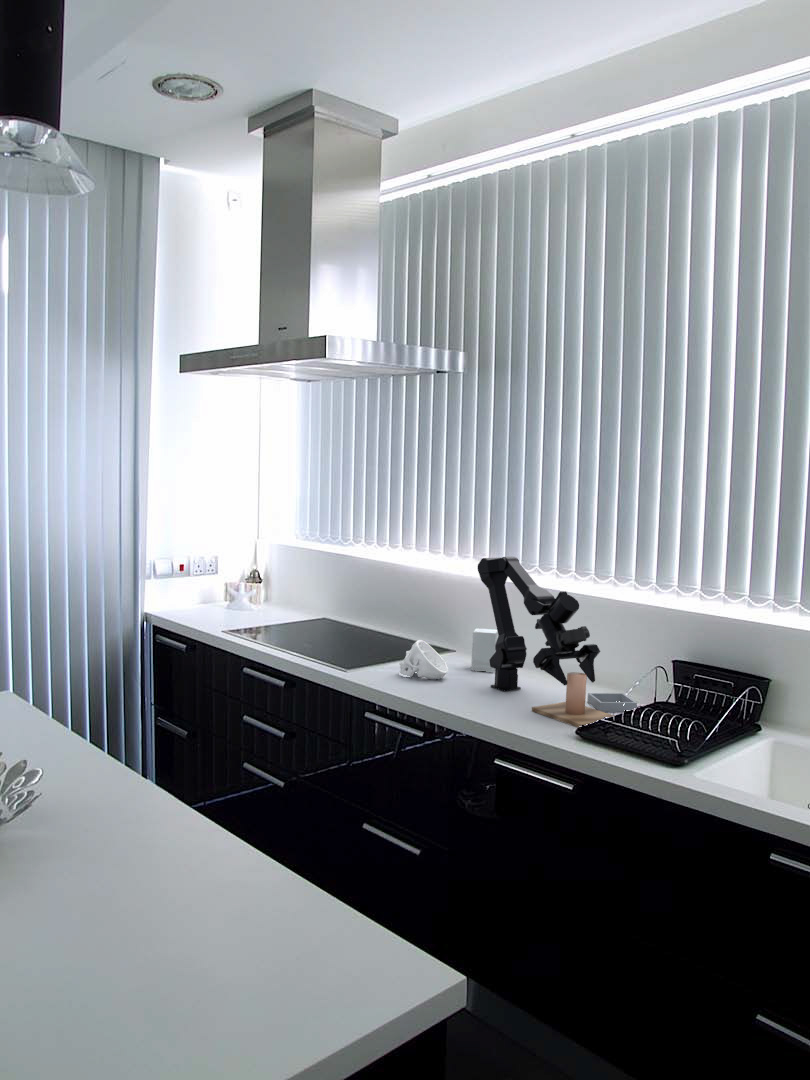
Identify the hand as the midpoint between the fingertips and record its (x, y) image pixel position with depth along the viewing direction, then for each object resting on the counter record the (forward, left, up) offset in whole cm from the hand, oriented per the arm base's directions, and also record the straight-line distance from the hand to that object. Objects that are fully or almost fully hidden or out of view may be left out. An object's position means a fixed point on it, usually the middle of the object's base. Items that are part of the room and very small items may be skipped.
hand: (580, 683), depth 240 cm
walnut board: (-1, 0, -9) cm, 9 cm away
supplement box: (-54, +13, -9) cm, 57 cm away
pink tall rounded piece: (-1, 0, -8) cm, 8 cm away
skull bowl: (-55, -11, -9) cm, 56 cm away
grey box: (-3, +16, -9) cm, 19 cm away
